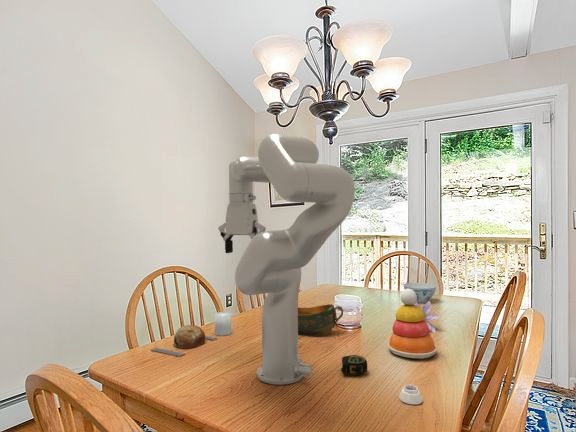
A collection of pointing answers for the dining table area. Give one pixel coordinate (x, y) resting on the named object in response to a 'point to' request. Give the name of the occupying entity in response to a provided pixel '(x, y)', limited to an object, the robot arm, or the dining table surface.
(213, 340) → the bay strip right
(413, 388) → the white jar
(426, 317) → the water lily
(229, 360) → the dining table surface
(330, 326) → the creamer
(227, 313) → the cup
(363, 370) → the tape measure
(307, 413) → the dining table surface
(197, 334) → the bread roll
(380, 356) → the dining table surface
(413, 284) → the chinaware
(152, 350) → the strip
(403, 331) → the stacking toy
